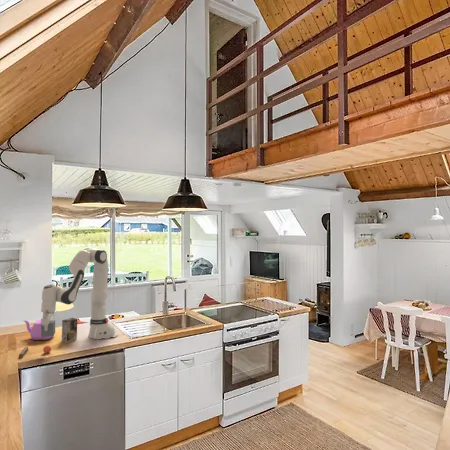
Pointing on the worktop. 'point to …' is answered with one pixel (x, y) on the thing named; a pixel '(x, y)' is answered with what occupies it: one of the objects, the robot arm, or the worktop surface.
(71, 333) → the coffee box
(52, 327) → the gray block
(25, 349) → the bar
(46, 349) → the ball
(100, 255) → the robot arm
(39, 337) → the teapot
